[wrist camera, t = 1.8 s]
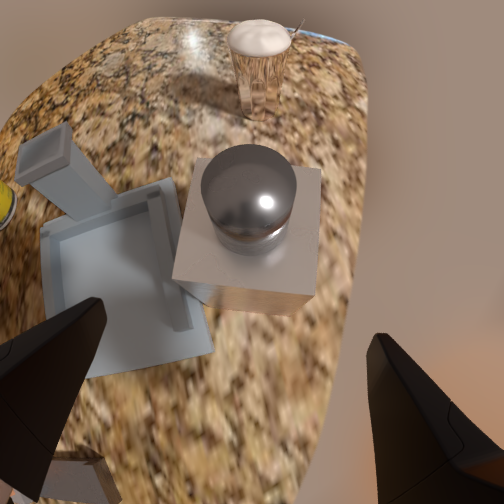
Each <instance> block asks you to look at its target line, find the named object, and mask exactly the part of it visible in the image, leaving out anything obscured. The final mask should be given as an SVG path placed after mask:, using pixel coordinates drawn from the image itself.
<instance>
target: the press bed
mask: <svg viewBox="0 0 504 504" xmlns="http://www.w3.org/2000/svg"><path fill="white" fill-rule="evenodd" d="M14 181H15V182H16V183H18V184H19V185H20V186H21V187H23V186H25V185H27V184H30V185H32V186H33V187H34V188H35V189H36V190H38V191H39V192H40V193H41V194H43V195H44V196H45V197H46V198H47V199H49V200H50V201H51V202H52V203H54V204H55V205H56V206H57V207H59V208H60V209H61V210H63V211H64V212H65V213H66V215H63V216H61V217H58V218H56V219H54V220H51V221H49V222H46V223H44V227H41V228H40V254H41V274H42V287H43V297H44V306H45V315H46V320H47V319H49V318H51V317H53V316H55V315H57V314H59V313H60V312H62V311H64V310H66V309H68V308H70V307H72V306H74V305H76V304H78V303H79V302H81V301H83V300H85V299H87V298H89V297H98V298H101V299H102V300H103V302H104V306H105V310H106V314H107V324H106V327H105V329H104V332H103V335H102V338H101V340H100V343H99V346H98V349H97V352H96V355H95V357H94V360H93V362H92V364H91V366H90V368H89V371H88V373H87V375H86V377H85V379H86V378H92V377H98V376H104V375H110V374H116V373H121V372H127V371H132V370H137V369H142V368H147V367H152V366H156V365H161V364H166V363H170V362H175V361H179V360H183V359H188V358H192V357H196V356H200V355H204V354H208V353H212V352H215V349H214V345H213V342H212V338H211V335H210V331H209V327H208V324H207V320H206V316H205V312H204V309H203V305H202V302H201V301H200V300H199V299H197V298H196V297H195V296H193V295H192V294H191V293H189V292H188V291H187V290H185V289H184V288H183V287H182V286H180V285H179V284H178V283H176V282H175V281H174V280H172V273H173V268H174V262H175V257H176V252H177V246H178V241H179V236H180V231H181V226H182V222H183V221H182V216H181V212H180V207H179V202H178V197H177V192H176V187H175V184H174V182H173V180H172V178H171V177H170V178H166V179H163V180H160V181H157V182H154V183H151V184H148V185H145V186H142V187H139V188H136V189H133V190H130V191H127V192H124V193H121V194H118V195H117V194H116V193H115V191H114V190H113V189H112V188H111V187H110V186H109V184H108V183H107V182H106V181H105V180H104V178H103V177H102V176H101V175H100V174H99V173H98V171H97V170H96V169H95V168H94V167H93V165H92V164H91V163H90V162H89V161H88V159H87V158H86V157H85V156H84V154H83V153H82V152H81V151H80V150H79V148H78V147H77V146H76V145H75V143H74V142H73V141H72V128H71V127H70V126H69V124H68V123H67V122H64V123H62V124H60V125H58V126H56V127H54V128H52V129H50V130H48V131H46V132H44V133H42V134H40V135H38V136H37V137H35V138H33V139H31V140H29V141H27V142H26V143H24V144H22V145H20V147H19V153H18V158H17V165H16V171H15V179H14Z"/></svg>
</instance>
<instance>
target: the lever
mask: <svg viewBox="0 0 504 504" xmlns="http://www.w3.org/2000/svg"><path fill="white" fill-rule="evenodd" d="M10 497H11V498H12V500H13V502H15V503H19V504H29V503H31V502H33V501H32V500H31V499H29V498H28V497H26V496H24V495H23V494H21V493H20V492H18V491H17V490H15V489H14V488H13V490H12V493H11V495H10Z"/></svg>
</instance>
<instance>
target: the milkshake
mask: <svg viewBox="0 0 504 504" xmlns="http://www.w3.org/2000/svg"><path fill="white" fill-rule="evenodd" d="M304 22H305V18H304V19H303V20H302V22H301V23H300V24H299V26H298V27H297V29H296V30H295V31H294V33H293V34H292V36H291V37H290V34H289V33H288V31H287V30H286V29H285V28H284V27H283V26H281V25H279V24H277V23H274V22H271V21H267V20H263V19H261V20H248V21H244V22H241V23H239V24H237V25H236V26H234V27H233V28H232V29H231V31H230V32H229V34H228V36H227V44H228V48H229V52H230V57H231V61H232V65H233V69H234V73H235V78H236V84H237V89H238V95H239V100H240V105H241V109H242V112H243V115H244V116H246V117H248V118H249V119H251V120H255V121H265V120H267V119H269V118H272V117H274V115H275V113H276V111H277V109H278V105H279V99H280V94H281V88H282V83H283V77H284V71H285V66H286V62H287V57H288V53H289V48H290V44H291V40H292V38H293V37H294V36H295V34H296V33H297V31H298V30H299V29H300V27H301V26H302V24H303V23H304Z"/></svg>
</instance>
